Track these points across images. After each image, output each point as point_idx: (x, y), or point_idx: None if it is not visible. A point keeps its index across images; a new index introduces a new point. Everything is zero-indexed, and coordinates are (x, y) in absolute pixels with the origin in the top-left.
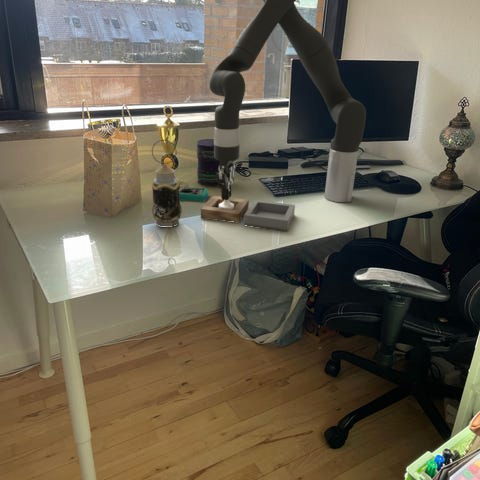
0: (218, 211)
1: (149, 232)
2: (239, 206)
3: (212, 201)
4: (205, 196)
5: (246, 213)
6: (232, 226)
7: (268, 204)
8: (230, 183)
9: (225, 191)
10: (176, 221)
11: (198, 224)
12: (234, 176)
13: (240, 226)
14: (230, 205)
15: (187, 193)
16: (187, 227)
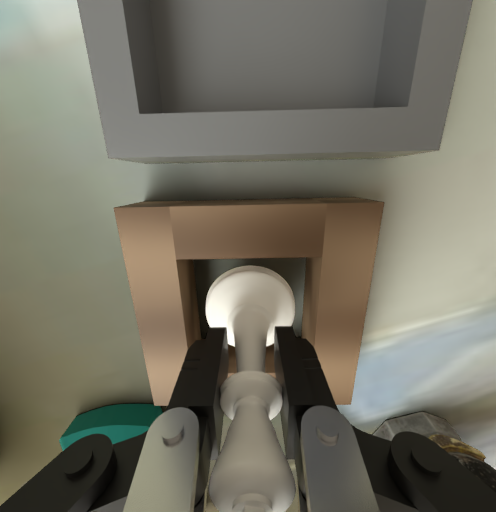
0: (362, 324)
1: (489, 458)
2: (253, 235)
3: None
4: (135, 420)
5: (405, 140)
6: (402, 214)
7: (126, 5)
8: (200, 442)
9: (331, 401)
10: (438, 430)
11: (401, 354)
12: (4, 505)
13: (396, 174)
14: (265, 290)
15: None
16: (436, 378)
